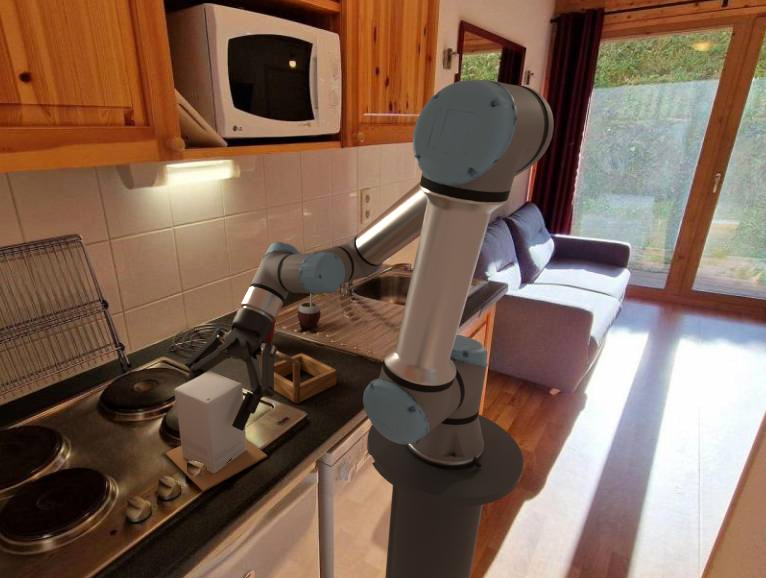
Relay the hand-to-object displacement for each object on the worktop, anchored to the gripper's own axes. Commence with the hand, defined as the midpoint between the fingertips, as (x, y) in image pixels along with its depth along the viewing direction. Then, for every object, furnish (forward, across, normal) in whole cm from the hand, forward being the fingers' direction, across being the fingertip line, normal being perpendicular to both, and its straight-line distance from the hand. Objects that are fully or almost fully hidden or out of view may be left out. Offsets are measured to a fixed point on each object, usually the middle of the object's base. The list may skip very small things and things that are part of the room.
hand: (208, 417), depth 87 cm
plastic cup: (-24, +23, -37) cm, 50 cm away
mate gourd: (-38, +20, -51) cm, 67 cm away
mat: (+6, 0, -8) cm, 10 cm away
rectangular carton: (+6, +1, -8) cm, 9 cm away
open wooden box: (-17, +3, -30) cm, 34 cm away
